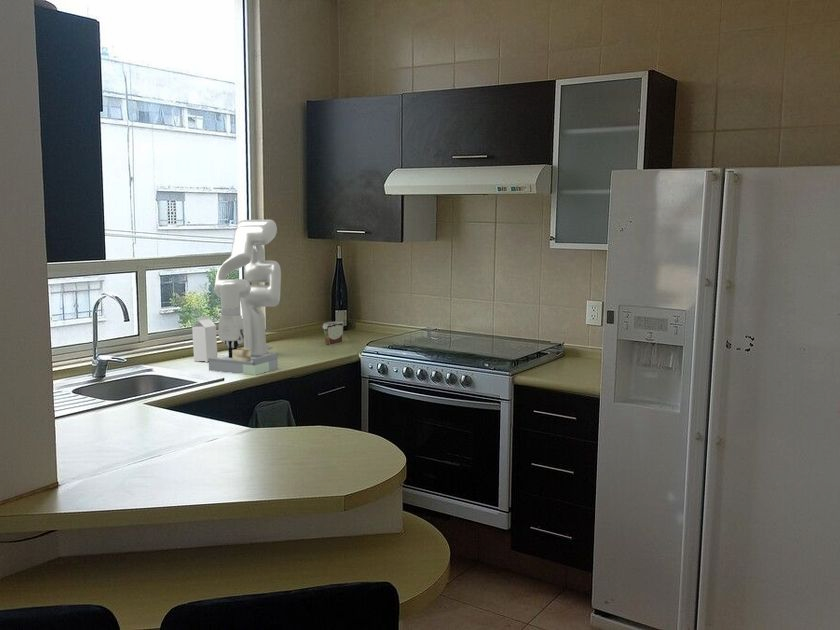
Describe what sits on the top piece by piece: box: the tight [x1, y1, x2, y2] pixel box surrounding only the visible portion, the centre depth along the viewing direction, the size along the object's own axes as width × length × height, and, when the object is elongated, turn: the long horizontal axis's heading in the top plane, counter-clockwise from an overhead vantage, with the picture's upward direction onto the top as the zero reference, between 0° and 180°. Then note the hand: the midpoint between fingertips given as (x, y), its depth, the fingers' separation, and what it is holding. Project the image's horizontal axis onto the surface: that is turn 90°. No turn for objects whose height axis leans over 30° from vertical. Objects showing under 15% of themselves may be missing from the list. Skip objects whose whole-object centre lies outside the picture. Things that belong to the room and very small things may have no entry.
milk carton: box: [191, 315, 219, 363], centre depth 347 cm, size 7×7×19 cm
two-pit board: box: [208, 352, 279, 376], centre depth 326 cm, size 14×24×6 cm, turn 61°
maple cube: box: [232, 347, 251, 362], centre depth 322 cm, size 5×5×5 cm
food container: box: [322, 321, 345, 346], centre depth 386 cm, size 12×6×10 cm, turn 144°
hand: (233, 357), depth 325 cm, fingers closed
